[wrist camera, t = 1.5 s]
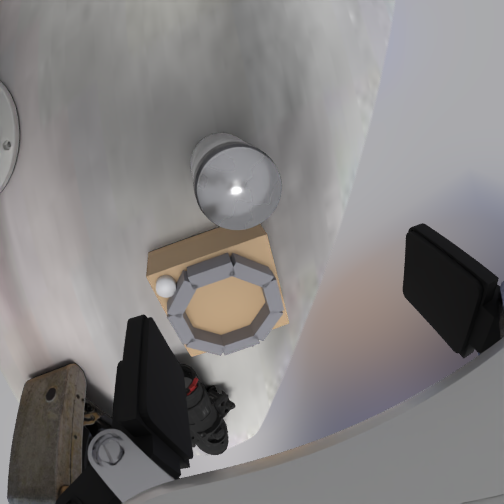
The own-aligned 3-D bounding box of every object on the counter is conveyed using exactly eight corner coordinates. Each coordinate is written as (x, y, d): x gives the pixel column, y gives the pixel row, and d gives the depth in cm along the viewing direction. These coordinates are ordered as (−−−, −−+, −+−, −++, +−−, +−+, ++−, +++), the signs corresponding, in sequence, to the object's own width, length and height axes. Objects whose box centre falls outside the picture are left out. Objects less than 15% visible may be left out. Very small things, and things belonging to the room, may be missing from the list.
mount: (148, 252, 27) (145, 287, 22) (254, 215, 28) (272, 242, 23) (187, 329, 32) (193, 368, 27) (276, 299, 33) (294, 333, 28)
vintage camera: (94, 428, 38) (101, 542, 22) (23, 374, 30) (4, 512, 13) (142, 415, 39) (159, 541, 22) (70, 355, 30) (59, 518, 14)
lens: (180, 143, 23) (183, 163, 16) (242, 123, 24) (272, 136, 17) (200, 200, 26) (211, 242, 19) (258, 181, 26) (290, 216, 20)
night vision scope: (212, 410, 44) (170, 453, 38) (175, 333, 35) (113, 385, 29) (252, 433, 40) (209, 482, 33) (224, 359, 31) (157, 425, 24)
